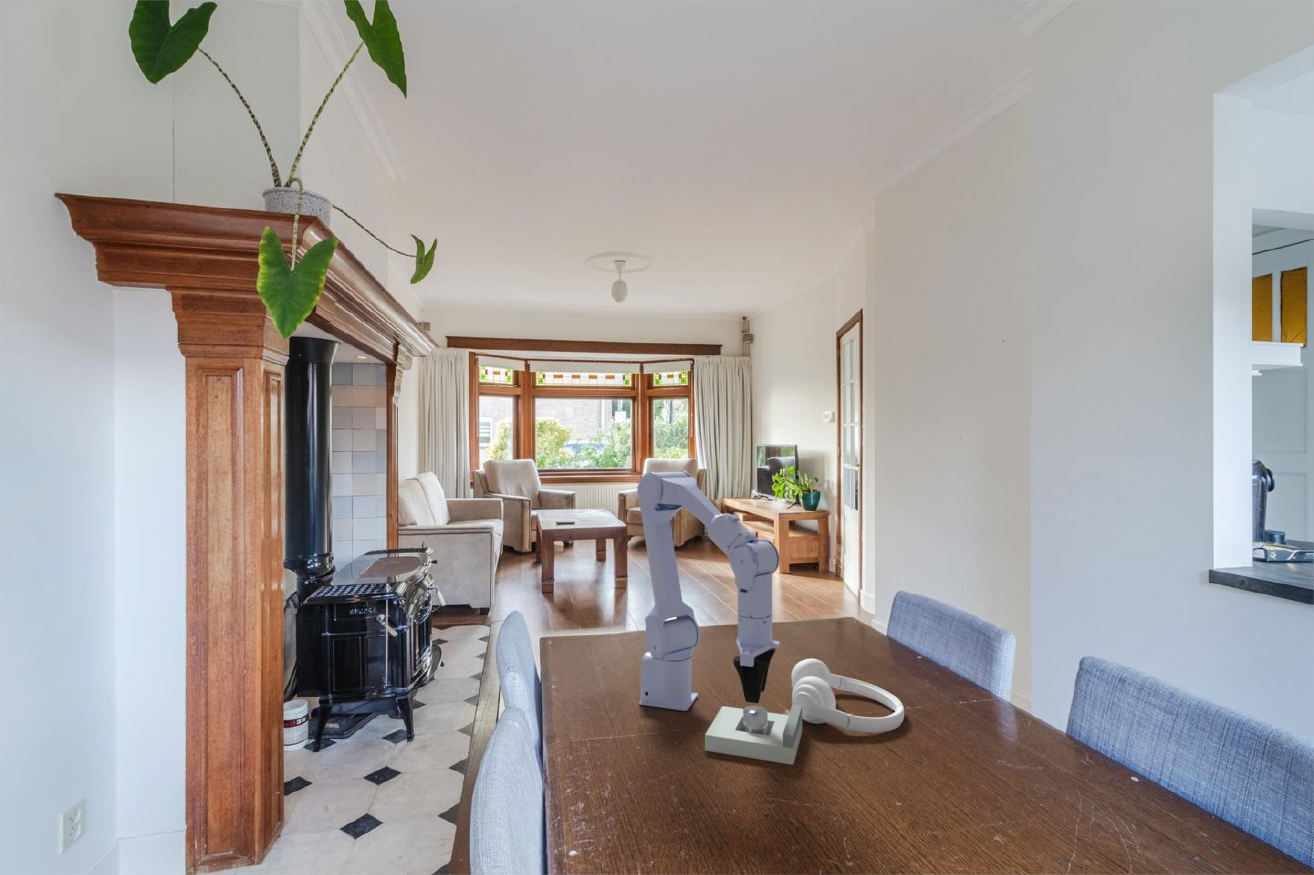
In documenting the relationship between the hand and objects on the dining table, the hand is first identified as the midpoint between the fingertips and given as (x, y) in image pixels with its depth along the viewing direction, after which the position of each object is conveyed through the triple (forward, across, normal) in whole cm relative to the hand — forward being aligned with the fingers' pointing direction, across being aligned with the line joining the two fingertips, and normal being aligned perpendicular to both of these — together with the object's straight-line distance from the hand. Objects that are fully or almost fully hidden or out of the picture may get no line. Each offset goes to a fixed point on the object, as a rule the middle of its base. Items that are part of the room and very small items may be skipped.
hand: (755, 696), depth 105 cm
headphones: (+8, +17, -14) cm, 23 cm away
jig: (+7, 0, 0) cm, 7 cm away
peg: (+7, 0, 0) cm, 7 cm away
